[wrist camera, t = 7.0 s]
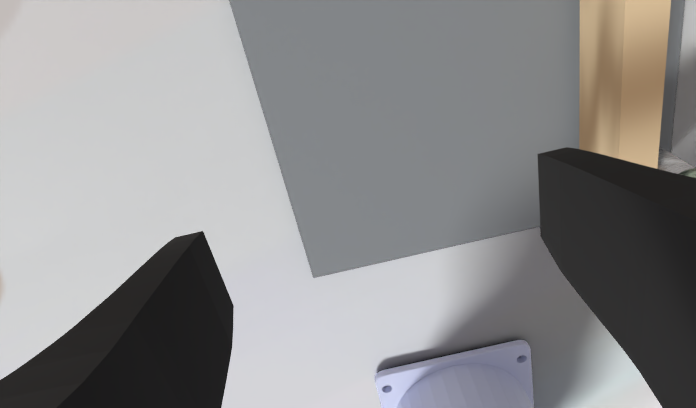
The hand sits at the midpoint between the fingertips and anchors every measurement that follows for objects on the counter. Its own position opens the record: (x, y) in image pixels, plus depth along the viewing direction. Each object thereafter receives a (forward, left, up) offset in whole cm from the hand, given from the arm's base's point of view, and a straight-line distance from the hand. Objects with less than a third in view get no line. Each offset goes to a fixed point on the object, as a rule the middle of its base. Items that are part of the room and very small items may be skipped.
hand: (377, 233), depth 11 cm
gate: (-1, -9, -9) cm, 13 cm away
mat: (0, -5, -10) cm, 11 cm away
